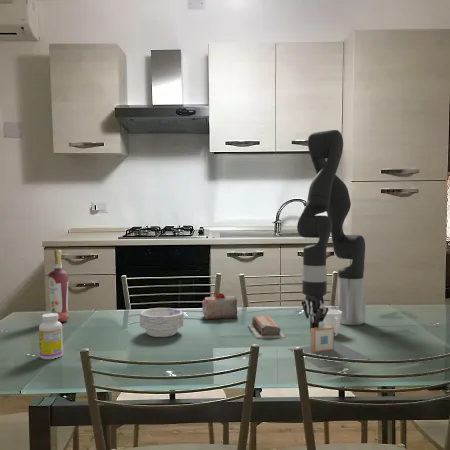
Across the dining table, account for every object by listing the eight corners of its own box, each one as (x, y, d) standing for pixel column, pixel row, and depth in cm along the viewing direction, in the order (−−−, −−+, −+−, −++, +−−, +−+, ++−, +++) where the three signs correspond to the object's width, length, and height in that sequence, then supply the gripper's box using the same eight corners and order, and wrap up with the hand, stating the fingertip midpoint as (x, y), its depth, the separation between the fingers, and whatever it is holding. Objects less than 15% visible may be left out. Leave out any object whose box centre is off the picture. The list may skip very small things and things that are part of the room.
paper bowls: (191, 330, 178) (191, 309, 178) (169, 342, 164) (168, 318, 164) (155, 326, 184) (155, 305, 184) (131, 337, 171) (130, 314, 170)
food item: (203, 320, 193) (203, 295, 192) (202, 315, 201) (201, 291, 200) (238, 319, 195) (238, 294, 194) (235, 314, 203) (235, 290, 202)
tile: (330, 348, 154) (330, 325, 154) (334, 350, 152) (334, 327, 152) (310, 350, 152) (310, 328, 152) (314, 352, 150) (314, 329, 150)
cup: (338, 331, 175) (338, 308, 175) (348, 339, 165) (348, 315, 165) (319, 332, 175) (319, 309, 174) (327, 340, 165) (327, 316, 164)
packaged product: (247, 314, 183) (273, 313, 184) (247, 327, 183) (273, 326, 185) (256, 327, 165) (285, 326, 166) (256, 341, 165) (285, 340, 167)
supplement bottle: (43, 353, 153) (42, 312, 153) (65, 352, 154) (64, 311, 153) (37, 360, 147) (35, 317, 146) (59, 359, 147) (58, 317, 146)
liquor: (73, 320, 194) (71, 249, 192) (58, 325, 188) (56, 251, 186) (61, 318, 198) (59, 248, 196) (45, 322, 192) (43, 250, 190)
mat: (338, 344, 160) (338, 342, 160) (373, 361, 143) (373, 359, 143) (288, 350, 154) (288, 349, 154) (319, 369, 137) (319, 367, 137)
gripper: (336, 281, 150) (336, 338, 151) (314, 275, 162) (314, 327, 163) (314, 283, 147) (314, 340, 148) (293, 276, 160) (293, 329, 161)
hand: (314, 333), depth 156 cm, fingers closed
